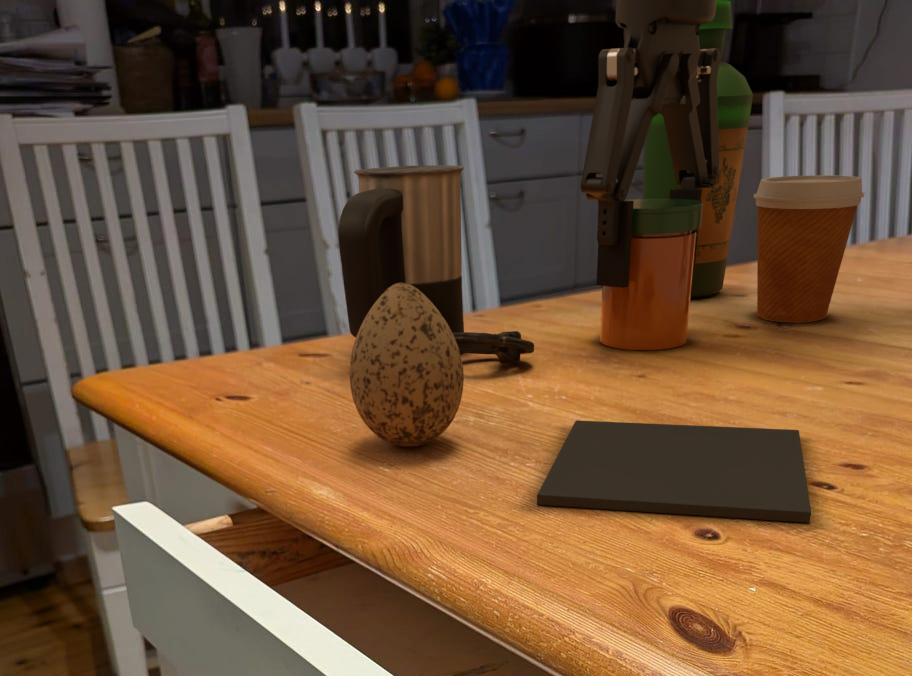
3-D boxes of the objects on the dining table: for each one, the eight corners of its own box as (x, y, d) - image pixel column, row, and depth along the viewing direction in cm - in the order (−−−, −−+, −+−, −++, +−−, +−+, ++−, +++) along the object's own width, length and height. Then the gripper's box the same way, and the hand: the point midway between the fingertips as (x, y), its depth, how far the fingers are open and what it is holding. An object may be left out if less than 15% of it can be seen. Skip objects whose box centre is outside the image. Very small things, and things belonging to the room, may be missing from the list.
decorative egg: (456, 463, 58) (451, 292, 54) (343, 461, 60) (328, 294, 55) (472, 428, 65) (469, 272, 60) (369, 427, 66) (358, 274, 61)
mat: (797, 439, 60) (799, 429, 60) (809, 523, 48) (811, 512, 48) (575, 428, 64) (575, 420, 63) (536, 505, 52) (536, 494, 52)
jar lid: (636, 220, 86) (638, 197, 85) (719, 224, 81) (722, 200, 80) (581, 230, 81) (582, 206, 80) (666, 236, 76) (668, 210, 75)
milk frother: (380, 338, 91) (369, 164, 84) (546, 339, 88) (549, 158, 80) (337, 376, 79) (319, 177, 71) (528, 379, 76) (530, 170, 68)
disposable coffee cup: (864, 322, 89) (889, 179, 83) (767, 329, 88) (786, 185, 82) (812, 304, 97) (831, 173, 91) (723, 310, 96) (737, 178, 90)
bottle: (728, 303, 99) (763, -24, 86) (625, 301, 102) (642, -14, 89) (734, 285, 108) (767, -14, 94) (639, 284, 111) (657, -5, 97)
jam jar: (688, 332, 88) (699, 206, 83) (684, 351, 82) (696, 216, 76) (605, 331, 90) (611, 207, 85) (594, 349, 84) (600, 217, 78)
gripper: (701, -23, 81) (678, 257, 92) (536, -39, 68) (532, 292, 79) (784, -34, 77) (750, 263, 88) (625, -53, 63) (608, 301, 74)
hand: (647, 277), depth 83 cm, fingers open, 10 cm apart
